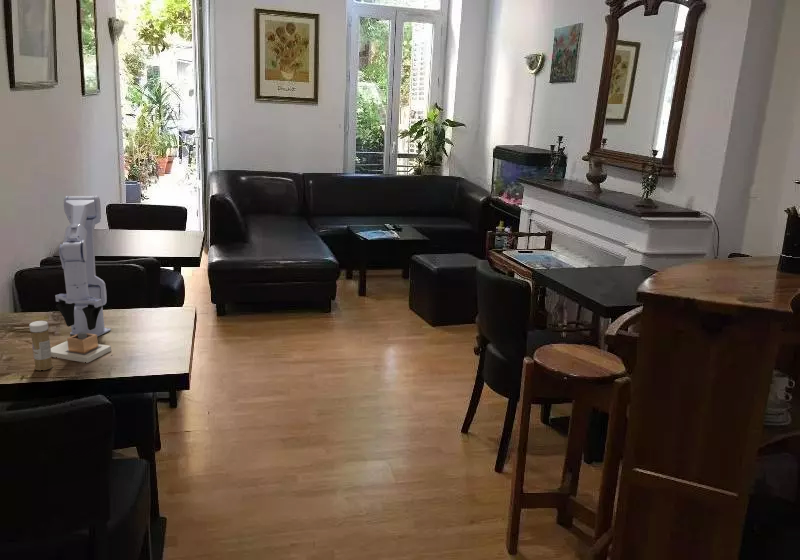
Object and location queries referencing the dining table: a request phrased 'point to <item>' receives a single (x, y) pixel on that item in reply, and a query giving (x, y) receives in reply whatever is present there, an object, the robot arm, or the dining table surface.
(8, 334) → the dining table surface
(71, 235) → the robot arm
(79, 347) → the small wooden box
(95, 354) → the post stand
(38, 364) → the sprinkles bottle
